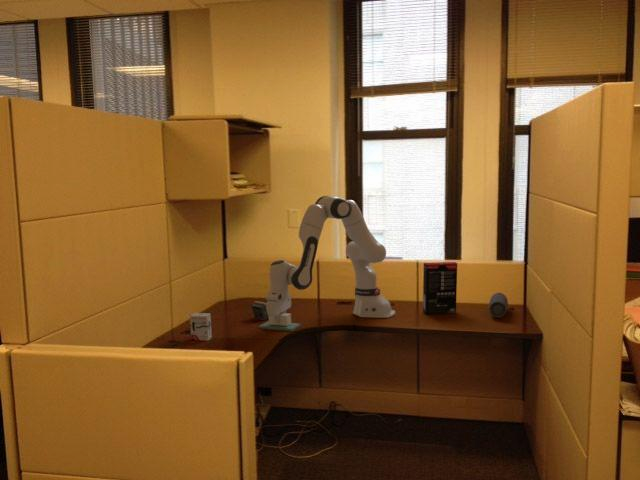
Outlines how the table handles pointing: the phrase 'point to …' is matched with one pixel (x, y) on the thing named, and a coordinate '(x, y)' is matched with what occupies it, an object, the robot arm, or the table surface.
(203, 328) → the ink box
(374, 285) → the robot arm
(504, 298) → the bluetooth speaker
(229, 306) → the table surface
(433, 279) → the graphics card box
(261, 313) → the electrical switch
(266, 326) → the header board
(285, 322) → the block
